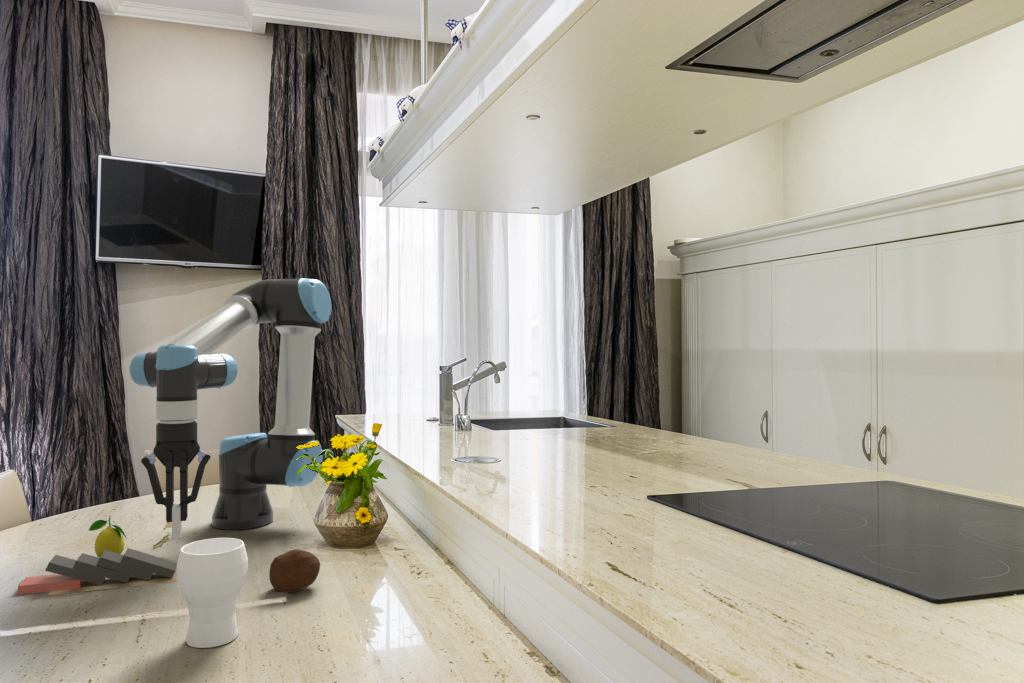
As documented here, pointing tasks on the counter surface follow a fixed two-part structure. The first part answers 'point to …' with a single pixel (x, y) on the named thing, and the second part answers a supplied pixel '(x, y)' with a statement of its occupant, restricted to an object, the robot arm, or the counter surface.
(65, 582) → the domino
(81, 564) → the domino
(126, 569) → the domino
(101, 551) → the lemon
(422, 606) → the counter surface
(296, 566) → the potato
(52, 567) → the domino
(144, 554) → the domino
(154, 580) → the board
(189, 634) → the cup
